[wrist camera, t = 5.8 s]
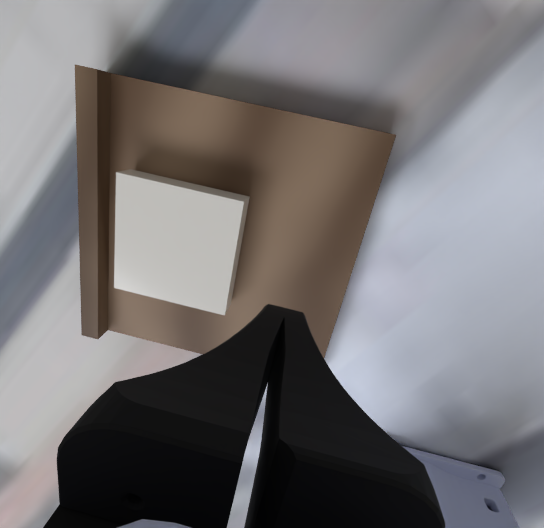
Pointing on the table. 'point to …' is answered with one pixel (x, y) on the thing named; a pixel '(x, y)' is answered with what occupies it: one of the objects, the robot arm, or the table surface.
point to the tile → (177, 240)
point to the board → (233, 178)
